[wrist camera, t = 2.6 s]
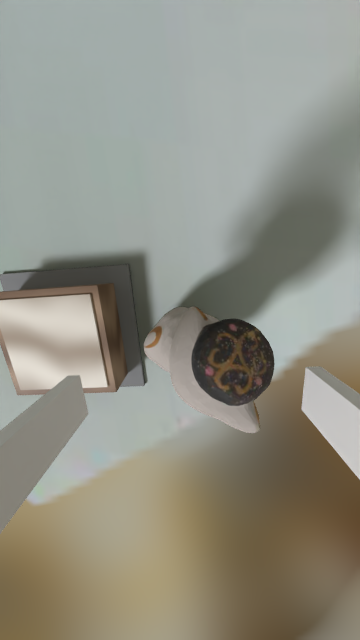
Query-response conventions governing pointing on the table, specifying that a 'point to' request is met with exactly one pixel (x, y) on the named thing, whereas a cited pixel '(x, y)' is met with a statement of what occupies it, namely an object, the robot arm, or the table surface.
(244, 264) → the table surface
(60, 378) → the plinth
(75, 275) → the mat
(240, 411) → the figurine
